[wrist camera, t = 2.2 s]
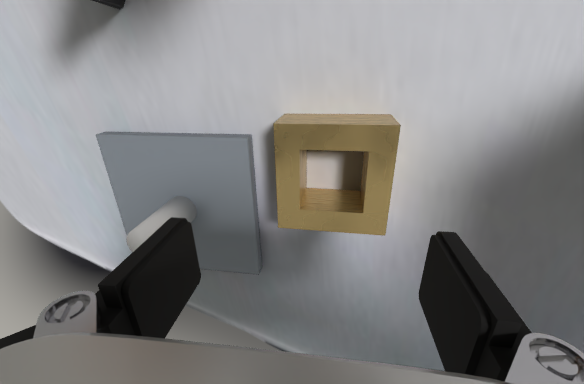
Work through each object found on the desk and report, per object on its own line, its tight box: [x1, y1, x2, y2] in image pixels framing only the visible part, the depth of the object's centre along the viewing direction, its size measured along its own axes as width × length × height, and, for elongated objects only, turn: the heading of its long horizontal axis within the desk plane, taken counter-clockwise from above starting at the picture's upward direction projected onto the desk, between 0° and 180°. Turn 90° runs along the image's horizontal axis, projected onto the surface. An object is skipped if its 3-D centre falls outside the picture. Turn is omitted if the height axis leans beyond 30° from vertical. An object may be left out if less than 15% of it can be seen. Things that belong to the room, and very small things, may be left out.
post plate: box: [96, 132, 262, 275], centre depth 21 cm, size 12×12×6 cm
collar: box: [274, 114, 401, 235], centre depth 19 cm, size 7×7×4 cm
